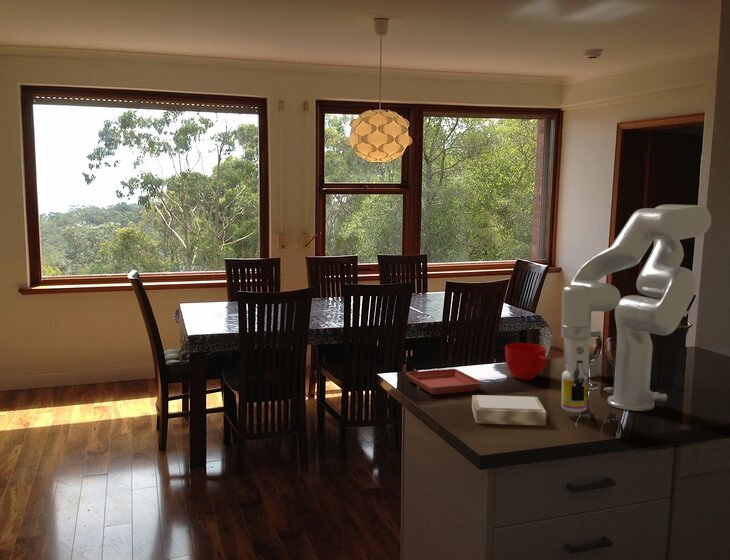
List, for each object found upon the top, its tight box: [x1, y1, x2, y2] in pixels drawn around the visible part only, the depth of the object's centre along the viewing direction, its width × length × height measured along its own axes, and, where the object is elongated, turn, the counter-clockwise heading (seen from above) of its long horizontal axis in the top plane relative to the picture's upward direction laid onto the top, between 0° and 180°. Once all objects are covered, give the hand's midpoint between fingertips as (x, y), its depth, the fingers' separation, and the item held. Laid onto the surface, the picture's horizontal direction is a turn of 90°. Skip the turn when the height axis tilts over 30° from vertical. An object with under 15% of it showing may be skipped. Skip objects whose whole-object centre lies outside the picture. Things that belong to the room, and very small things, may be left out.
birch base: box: [471, 394, 547, 426], centre depth 186 cm, size 18×13×4 cm
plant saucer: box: [405, 368, 483, 396], centre depth 213 cm, size 18×18×3 cm
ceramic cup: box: [504, 342, 548, 381], centre depth 223 cm, size 13×17×10 cm
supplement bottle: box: [560, 364, 589, 413], centre depth 185 cm, size 7×7×13 cm
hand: (574, 395), depth 186 cm, fingers closed on supplement bottle, 6 cm apart
